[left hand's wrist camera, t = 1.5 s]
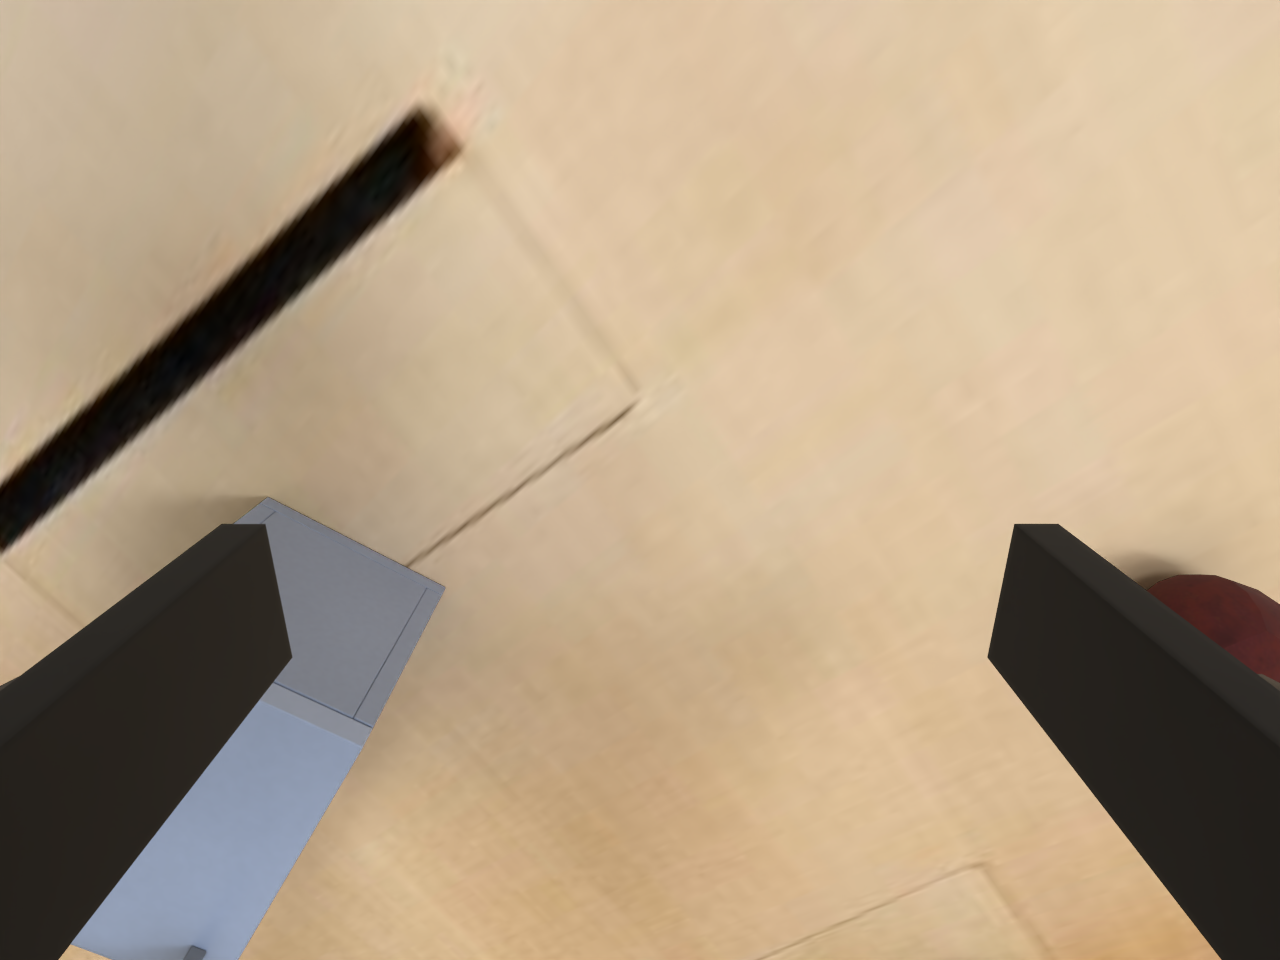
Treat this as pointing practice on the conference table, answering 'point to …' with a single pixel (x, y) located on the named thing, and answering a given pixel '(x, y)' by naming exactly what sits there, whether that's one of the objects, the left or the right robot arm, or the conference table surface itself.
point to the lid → (230, 837)
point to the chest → (342, 613)
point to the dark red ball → (1228, 617)
